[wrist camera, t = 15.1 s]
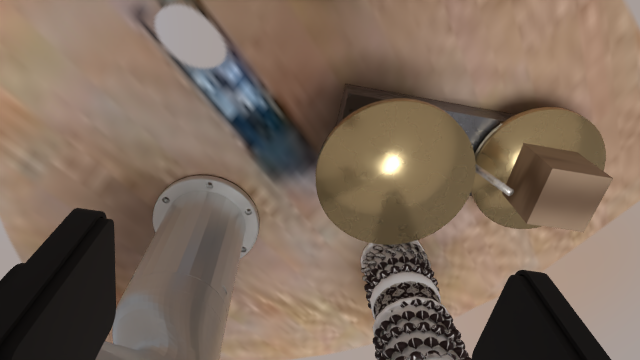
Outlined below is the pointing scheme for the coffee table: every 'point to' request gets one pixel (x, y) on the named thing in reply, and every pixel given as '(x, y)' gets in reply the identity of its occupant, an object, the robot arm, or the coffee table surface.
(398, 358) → the decorative candle
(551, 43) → the coffee table surface
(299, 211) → the coffee table surface
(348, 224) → the balance
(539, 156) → the walnut block
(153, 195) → the coffee table surface
